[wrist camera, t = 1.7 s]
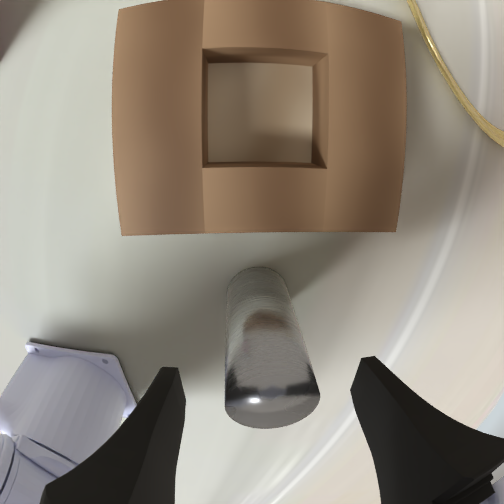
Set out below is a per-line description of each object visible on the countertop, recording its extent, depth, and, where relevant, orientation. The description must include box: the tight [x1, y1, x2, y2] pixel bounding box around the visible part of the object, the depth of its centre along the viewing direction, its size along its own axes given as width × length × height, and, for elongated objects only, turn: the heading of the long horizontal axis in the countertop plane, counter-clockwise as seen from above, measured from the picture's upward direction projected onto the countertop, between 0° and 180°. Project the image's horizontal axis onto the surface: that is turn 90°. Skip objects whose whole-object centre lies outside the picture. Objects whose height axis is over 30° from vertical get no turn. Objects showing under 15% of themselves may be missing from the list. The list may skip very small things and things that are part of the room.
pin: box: [225, 267, 320, 429], centre depth 13 cm, size 4×4×8 cm
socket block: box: [112, 0, 407, 236], centre depth 11 cm, size 12×10×4 cm
